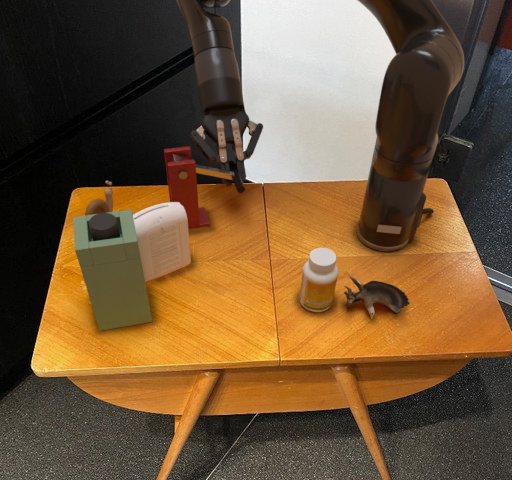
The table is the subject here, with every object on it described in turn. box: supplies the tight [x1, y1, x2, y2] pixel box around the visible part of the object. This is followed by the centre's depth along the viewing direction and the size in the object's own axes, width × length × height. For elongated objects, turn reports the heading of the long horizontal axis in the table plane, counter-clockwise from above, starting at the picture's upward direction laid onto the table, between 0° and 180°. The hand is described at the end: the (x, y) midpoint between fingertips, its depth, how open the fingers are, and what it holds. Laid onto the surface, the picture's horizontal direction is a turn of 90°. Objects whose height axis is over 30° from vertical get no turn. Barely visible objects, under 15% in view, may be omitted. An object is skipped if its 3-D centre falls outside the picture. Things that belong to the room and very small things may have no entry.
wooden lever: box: [171, 154, 246, 194], centre depth 92 cm, size 12×8×2 cm, turn 104°
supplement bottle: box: [298, 247, 339, 313], centre depth 84 cm, size 5×5×10 cm
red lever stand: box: [163, 145, 211, 230], centre depth 94 cm, size 8×6×14 cm
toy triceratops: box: [344, 274, 411, 320], centre depth 85 cm, size 8×7×9 cm
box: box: [72, 209, 153, 332], centre depth 79 cm, size 8×7×16 cm
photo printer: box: [133, 201, 192, 283], centre depth 87 cm, size 10×4×12 cm, turn 123°
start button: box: [89, 213, 120, 241], centre depth 73 cm, size 4×4×3 cm
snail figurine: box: [84, 179, 114, 216], centre depth 90 cm, size 5×6×12 cm
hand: (235, 184), depth 96 cm, fingers closed
